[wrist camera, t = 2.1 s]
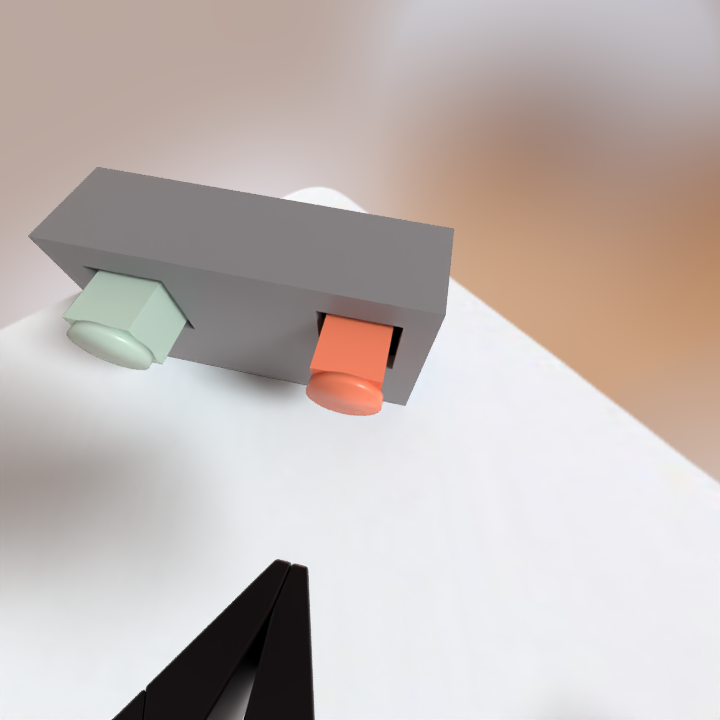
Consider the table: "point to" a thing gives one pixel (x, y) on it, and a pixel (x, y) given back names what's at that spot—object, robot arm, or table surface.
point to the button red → (350, 365)
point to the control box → (258, 270)
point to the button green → (125, 320)
